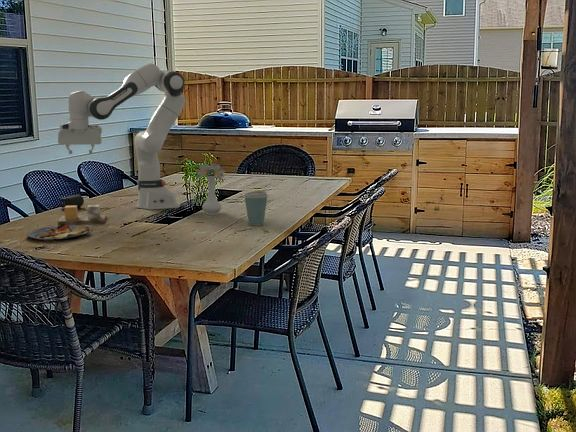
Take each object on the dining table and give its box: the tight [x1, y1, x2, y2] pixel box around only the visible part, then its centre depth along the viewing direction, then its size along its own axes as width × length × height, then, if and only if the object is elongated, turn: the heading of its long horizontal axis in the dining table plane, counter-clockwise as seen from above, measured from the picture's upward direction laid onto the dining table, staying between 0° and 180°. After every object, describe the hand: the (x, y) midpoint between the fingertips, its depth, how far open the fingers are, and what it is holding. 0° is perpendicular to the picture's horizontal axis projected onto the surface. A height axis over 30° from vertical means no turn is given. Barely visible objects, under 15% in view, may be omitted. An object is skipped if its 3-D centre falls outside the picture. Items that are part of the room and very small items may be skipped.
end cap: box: [59, 194, 85, 211], centre depth 332 cm, size 10×7×7 cm
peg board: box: [57, 204, 107, 226], centre depth 301 cm, size 20×14×7 cm
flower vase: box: [196, 162, 226, 216], centre depth 319 cm, size 13×18×25 cm
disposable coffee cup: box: [243, 190, 268, 227], centre depth 294 cm, size 11×11×15 cm
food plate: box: [25, 224, 91, 242], centre depth 270 cm, size 25×23×4 cm
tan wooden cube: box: [64, 205, 79, 219], centre depth 300 cm, size 5×5×6 cm
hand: (80, 153), depth 317 cm, fingers open, 8 cm apart
